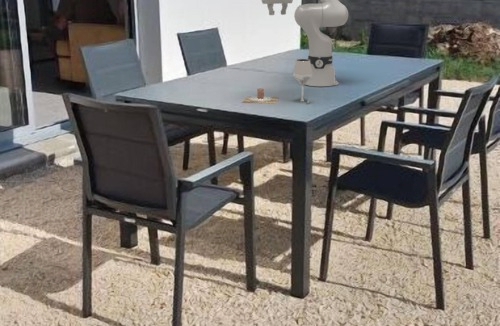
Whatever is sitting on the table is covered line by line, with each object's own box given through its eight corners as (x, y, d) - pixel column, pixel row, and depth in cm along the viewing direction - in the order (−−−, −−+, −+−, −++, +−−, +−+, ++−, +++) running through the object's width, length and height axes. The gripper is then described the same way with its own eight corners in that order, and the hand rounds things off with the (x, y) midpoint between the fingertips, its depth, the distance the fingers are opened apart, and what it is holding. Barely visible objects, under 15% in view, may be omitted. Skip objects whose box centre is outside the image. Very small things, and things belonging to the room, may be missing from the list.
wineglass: (291, 100, 279) (292, 58, 274) (310, 100, 279) (311, 58, 274) (294, 104, 271) (294, 61, 266) (313, 103, 271) (314, 61, 266)
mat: (247, 97, 285) (247, 96, 285) (278, 98, 283) (278, 97, 282) (241, 104, 272) (241, 102, 272) (274, 105, 269) (274, 103, 269)
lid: (251, 97, 283) (251, 86, 281) (273, 98, 281) (273, 87, 280) (247, 101, 273) (247, 90, 272) (270, 102, 271) (270, 91, 270)
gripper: (283, -19, 277) (283, 14, 281) (258, -20, 261) (258, 15, 264) (296, -19, 274) (296, 14, 277) (271, -20, 257) (271, 15, 261)
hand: (277, 14), depth 271 cm, fingers open, 8 cm apart
